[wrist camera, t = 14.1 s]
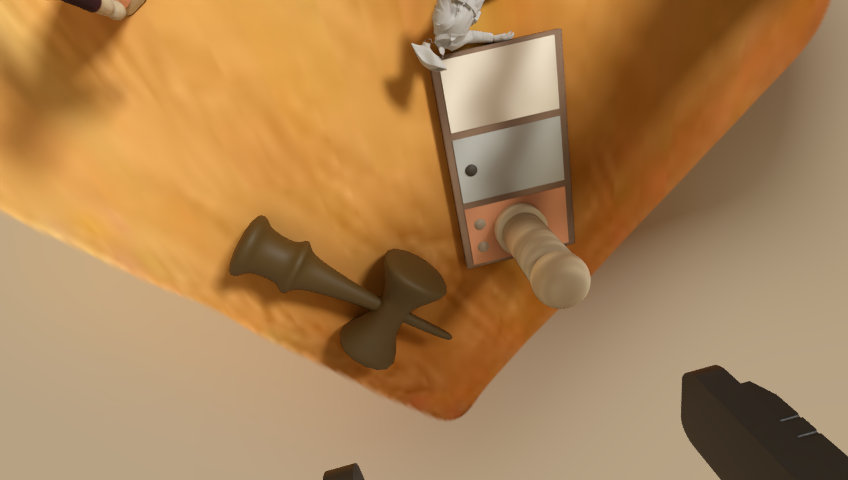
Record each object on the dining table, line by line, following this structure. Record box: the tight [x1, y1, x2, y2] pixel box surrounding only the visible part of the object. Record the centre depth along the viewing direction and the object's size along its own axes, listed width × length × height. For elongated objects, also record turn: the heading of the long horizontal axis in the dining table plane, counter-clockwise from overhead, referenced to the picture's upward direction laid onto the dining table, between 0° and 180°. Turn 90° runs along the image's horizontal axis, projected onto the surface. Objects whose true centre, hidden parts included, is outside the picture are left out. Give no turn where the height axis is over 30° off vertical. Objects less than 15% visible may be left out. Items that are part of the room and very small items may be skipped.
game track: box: [430, 29, 575, 269], centre depth 38 cm, size 10×18×1 cm, turn 12°
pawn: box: [494, 203, 591, 309], centre depth 35 cm, size 4×4×11 cm
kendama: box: [229, 215, 452, 370], centre depth 39 cm, size 6×10×20 cm
